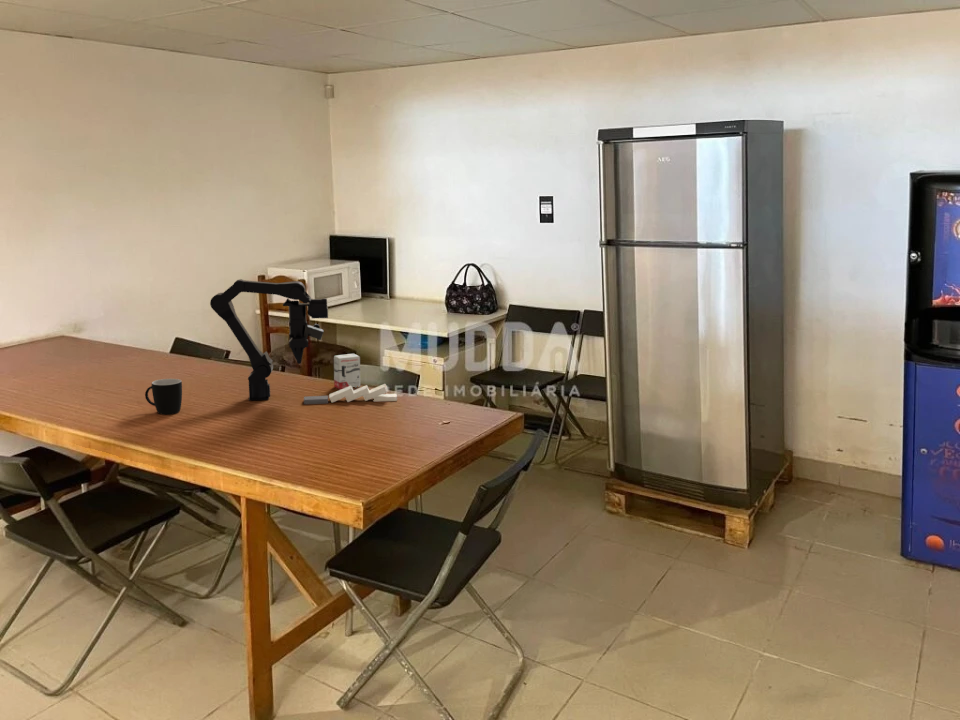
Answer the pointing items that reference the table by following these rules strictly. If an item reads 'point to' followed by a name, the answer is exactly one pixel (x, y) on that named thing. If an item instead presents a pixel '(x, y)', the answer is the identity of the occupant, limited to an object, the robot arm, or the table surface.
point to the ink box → (346, 371)
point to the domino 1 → (316, 400)
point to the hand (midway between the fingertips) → (299, 363)
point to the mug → (166, 395)
